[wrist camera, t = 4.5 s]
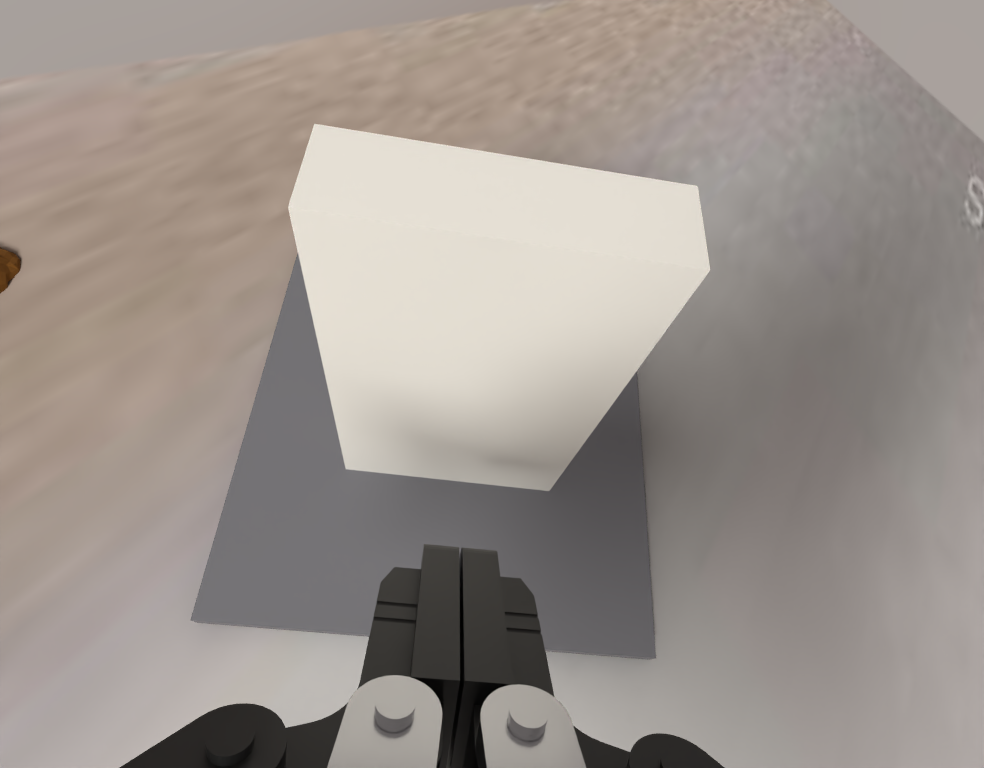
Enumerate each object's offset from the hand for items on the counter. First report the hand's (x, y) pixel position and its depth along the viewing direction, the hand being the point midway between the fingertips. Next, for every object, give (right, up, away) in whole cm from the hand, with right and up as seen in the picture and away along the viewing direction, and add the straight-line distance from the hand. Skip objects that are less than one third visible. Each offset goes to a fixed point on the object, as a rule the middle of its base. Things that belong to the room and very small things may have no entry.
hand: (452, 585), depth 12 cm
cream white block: (-1, +2, +9) cm, 9 cm away
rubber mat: (0, +5, +11) cm, 12 cm away
